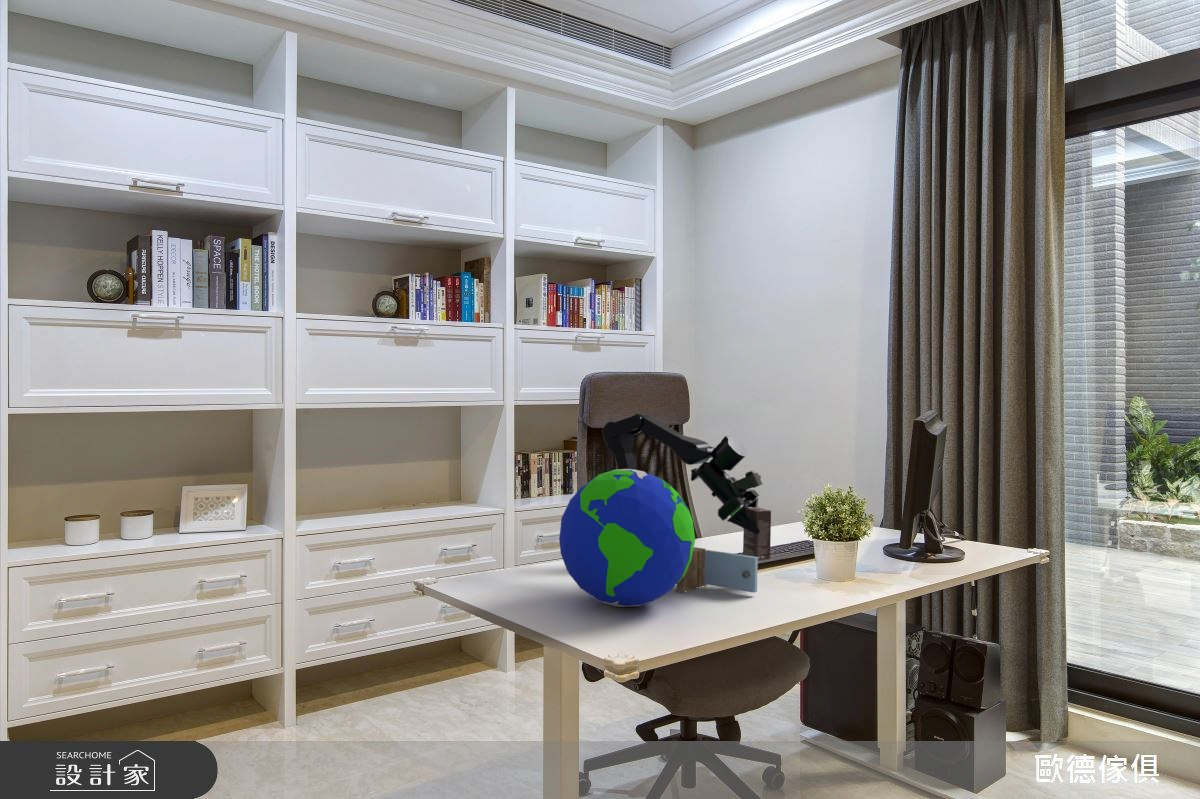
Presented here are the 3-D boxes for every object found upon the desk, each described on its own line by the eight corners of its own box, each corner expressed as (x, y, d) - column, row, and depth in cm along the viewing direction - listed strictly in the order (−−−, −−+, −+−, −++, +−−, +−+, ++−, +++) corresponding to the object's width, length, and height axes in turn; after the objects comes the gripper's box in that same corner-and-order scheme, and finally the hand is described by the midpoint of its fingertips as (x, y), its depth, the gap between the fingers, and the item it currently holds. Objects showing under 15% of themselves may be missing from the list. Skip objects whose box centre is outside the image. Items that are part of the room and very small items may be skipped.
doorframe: (685, 593, 192) (686, 554, 192) (674, 591, 194) (675, 552, 194) (731, 576, 210) (732, 541, 209) (721, 574, 211) (721, 539, 211)
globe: (545, 620, 168) (547, 474, 168) (570, 585, 198) (572, 460, 197) (692, 628, 164) (694, 478, 164) (695, 591, 194) (697, 464, 193)
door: (702, 585, 196) (702, 551, 196) (707, 583, 198) (707, 549, 198) (752, 593, 188) (753, 558, 188) (757, 591, 190) (757, 557, 190)
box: (771, 559, 199) (772, 510, 198) (755, 561, 197) (756, 511, 196) (757, 554, 204) (758, 506, 204) (741, 555, 203) (742, 507, 202)
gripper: (732, 463, 193) (778, 514, 189) (751, 457, 210) (794, 504, 206) (699, 494, 196) (743, 545, 192) (720, 486, 213) (762, 532, 209)
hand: (762, 530), depth 200 cm, fingers closed on box, 7 cm apart
